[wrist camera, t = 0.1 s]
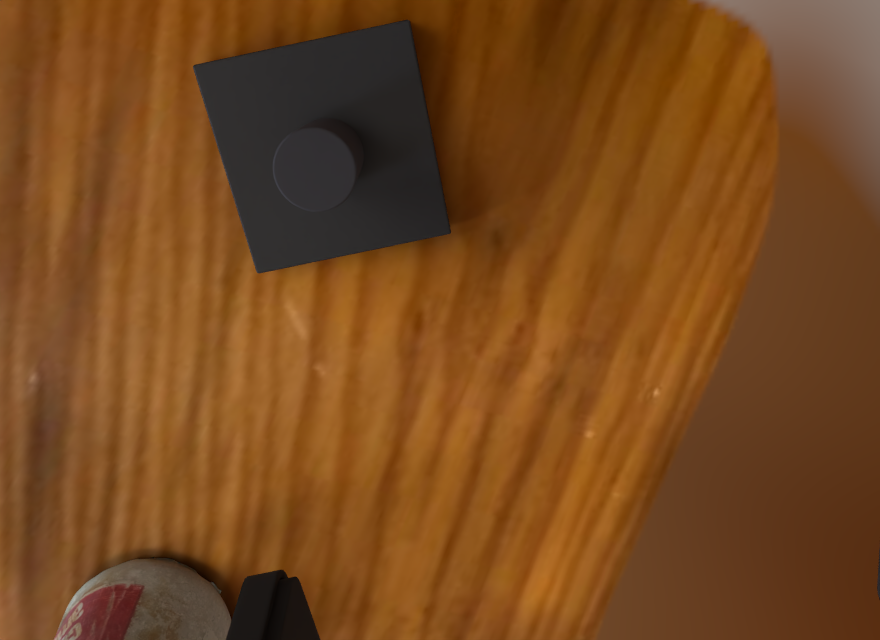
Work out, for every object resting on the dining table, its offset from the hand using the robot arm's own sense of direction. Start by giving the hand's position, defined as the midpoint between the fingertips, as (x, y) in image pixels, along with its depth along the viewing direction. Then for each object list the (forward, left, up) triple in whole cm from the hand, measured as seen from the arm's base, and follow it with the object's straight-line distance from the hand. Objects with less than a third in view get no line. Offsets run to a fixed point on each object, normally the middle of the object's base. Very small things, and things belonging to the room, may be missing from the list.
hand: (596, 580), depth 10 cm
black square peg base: (-5, -5, -22) cm, 23 cm away
